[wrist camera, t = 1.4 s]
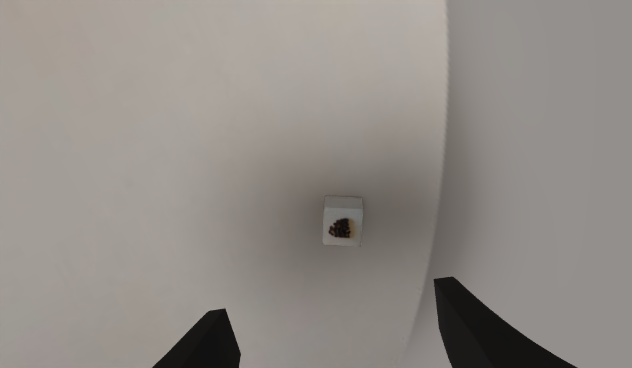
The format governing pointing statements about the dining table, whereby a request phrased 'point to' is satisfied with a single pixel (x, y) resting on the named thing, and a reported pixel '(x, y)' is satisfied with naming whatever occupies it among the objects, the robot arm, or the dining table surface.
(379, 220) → the dining table surface
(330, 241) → the cube with brown bumps
